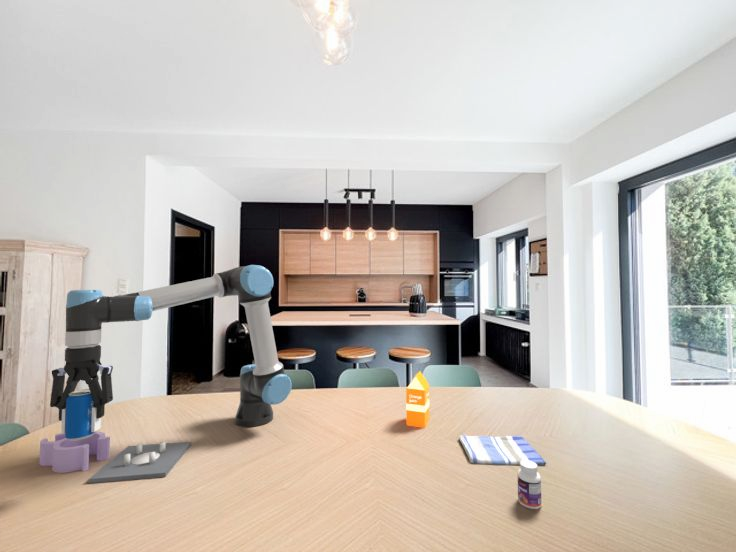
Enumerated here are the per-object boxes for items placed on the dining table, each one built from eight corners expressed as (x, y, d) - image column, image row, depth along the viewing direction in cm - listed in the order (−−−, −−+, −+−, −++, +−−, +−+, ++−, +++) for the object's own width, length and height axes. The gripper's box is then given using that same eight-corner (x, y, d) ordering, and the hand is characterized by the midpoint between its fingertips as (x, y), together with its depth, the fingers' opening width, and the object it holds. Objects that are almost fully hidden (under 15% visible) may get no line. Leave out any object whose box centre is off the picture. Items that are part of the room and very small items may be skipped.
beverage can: (78, 442, 86) (79, 396, 86) (58, 440, 87) (59, 394, 87) (102, 432, 92) (103, 388, 92) (84, 430, 93) (85, 387, 94)
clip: (25, 468, 101) (26, 445, 101) (69, 449, 113) (70, 428, 113) (76, 475, 97) (77, 451, 97) (117, 455, 109) (117, 433, 109)
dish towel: (457, 440, 120) (457, 432, 120) (524, 442, 118) (523, 434, 118) (469, 465, 102) (468, 456, 102) (547, 468, 101) (546, 458, 101)
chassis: (190, 445, 115) (191, 432, 116) (165, 476, 96) (165, 462, 96) (128, 449, 112) (128, 437, 112) (88, 483, 92) (88, 468, 93)
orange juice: (406, 425, 132) (405, 374, 133) (411, 417, 140) (411, 369, 141) (425, 428, 129) (424, 376, 130) (430, 419, 137) (429, 371, 138)
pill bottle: (513, 496, 86) (513, 458, 86) (533, 495, 86) (532, 458, 87) (525, 510, 81) (524, 470, 81) (546, 509, 81) (545, 469, 81)
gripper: (130, 342, 96) (128, 422, 95) (54, 344, 92) (51, 427, 92) (114, 346, 88) (112, 434, 87) (31, 349, 85) (28, 440, 84)
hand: (81, 430), depth 89 cm, fingers closed on beverage can, 6 cm apart
